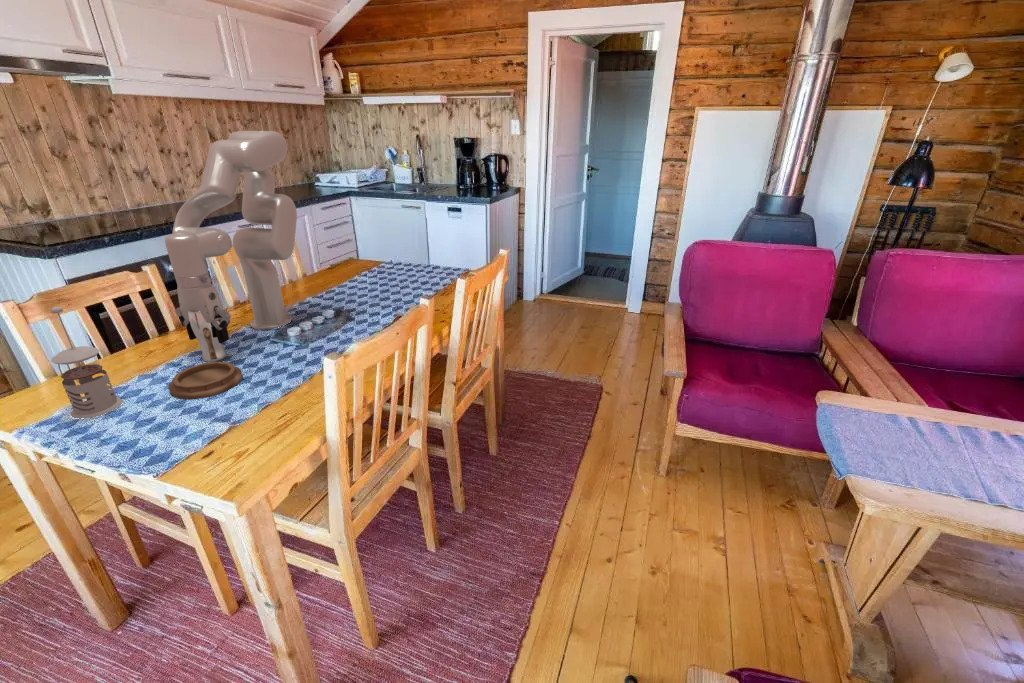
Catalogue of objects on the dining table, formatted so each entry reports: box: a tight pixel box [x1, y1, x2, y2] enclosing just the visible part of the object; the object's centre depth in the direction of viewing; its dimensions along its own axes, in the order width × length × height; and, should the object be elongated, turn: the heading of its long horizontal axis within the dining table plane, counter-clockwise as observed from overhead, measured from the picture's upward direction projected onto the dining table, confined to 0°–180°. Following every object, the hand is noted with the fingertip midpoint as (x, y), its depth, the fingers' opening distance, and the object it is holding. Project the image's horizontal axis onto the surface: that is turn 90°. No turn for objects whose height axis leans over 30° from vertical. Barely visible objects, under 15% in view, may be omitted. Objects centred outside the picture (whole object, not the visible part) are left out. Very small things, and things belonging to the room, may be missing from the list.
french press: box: [50, 306, 124, 419], centre depth 105 cm, size 10×12×25 cm
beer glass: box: [187, 310, 228, 363], centre depth 131 cm, size 7×7×15 cm
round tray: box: [168, 361, 244, 400], centre depth 120 cm, size 16×16×3 cm
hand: (209, 339), depth 132 cm, fingers open, 9 cm apart
